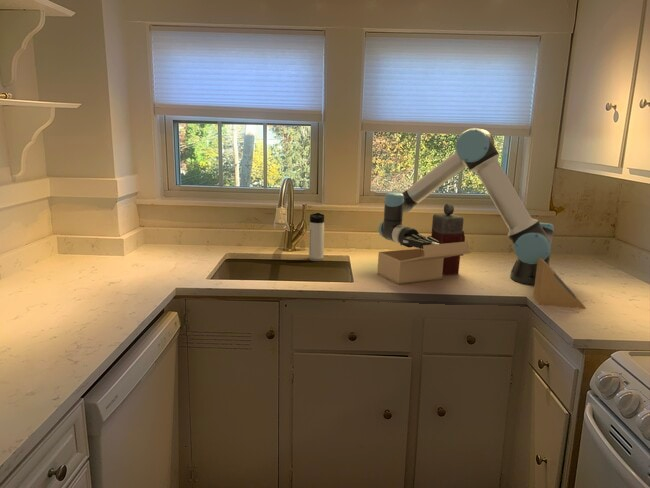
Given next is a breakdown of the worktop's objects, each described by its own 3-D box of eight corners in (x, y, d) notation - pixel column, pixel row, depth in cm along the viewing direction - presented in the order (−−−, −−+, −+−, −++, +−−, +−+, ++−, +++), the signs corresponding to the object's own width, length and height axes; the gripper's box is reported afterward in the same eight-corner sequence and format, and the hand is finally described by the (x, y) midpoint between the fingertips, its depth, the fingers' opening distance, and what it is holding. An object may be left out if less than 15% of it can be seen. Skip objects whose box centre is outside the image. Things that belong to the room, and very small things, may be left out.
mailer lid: (423, 245, 168) (424, 257, 167) (469, 241, 176) (471, 252, 176) (398, 251, 181) (400, 262, 181) (443, 246, 190) (444, 257, 190)
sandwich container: (587, 309, 164) (594, 265, 161) (538, 305, 167) (544, 262, 163) (579, 300, 172) (585, 259, 169) (532, 296, 175) (538, 255, 171)
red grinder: (463, 274, 200) (470, 205, 194) (438, 275, 197) (444, 205, 190) (452, 268, 208) (458, 202, 202) (428, 269, 205) (433, 202, 199)
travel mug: (323, 257, 218) (325, 213, 214) (322, 261, 212) (323, 215, 208) (309, 257, 219) (310, 212, 214) (307, 260, 213) (309, 215, 208)
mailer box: (377, 274, 196) (378, 252, 194) (418, 269, 205) (420, 248, 203) (398, 284, 183) (400, 261, 181) (441, 279, 192) (443, 256, 190)
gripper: (418, 244, 198) (458, 258, 177) (391, 246, 192) (428, 261, 171) (420, 225, 196) (460, 238, 175) (392, 227, 190) (430, 240, 170)
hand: (444, 249), depth 173 cm, fingers closed
